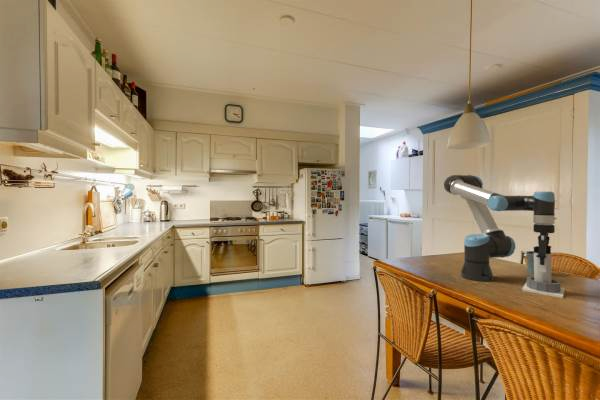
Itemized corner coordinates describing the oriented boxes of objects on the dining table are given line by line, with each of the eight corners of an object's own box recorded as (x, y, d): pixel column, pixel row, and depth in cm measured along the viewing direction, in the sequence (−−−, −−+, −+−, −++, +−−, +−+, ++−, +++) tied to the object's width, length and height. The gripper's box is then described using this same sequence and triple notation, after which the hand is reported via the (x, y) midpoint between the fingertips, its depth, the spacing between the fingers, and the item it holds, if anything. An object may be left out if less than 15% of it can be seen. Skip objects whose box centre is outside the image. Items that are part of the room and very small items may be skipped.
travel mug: (556, 290, 129) (555, 246, 129) (539, 289, 130) (538, 246, 130) (546, 286, 135) (546, 245, 135) (531, 286, 136) (530, 244, 137)
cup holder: (522, 290, 132) (522, 280, 132) (526, 284, 142) (526, 274, 142) (563, 298, 122) (563, 286, 122) (564, 290, 132) (564, 280, 132)
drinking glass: (546, 272, 164) (547, 252, 164) (550, 276, 155) (550, 255, 155) (524, 270, 169) (525, 250, 169) (527, 274, 161) (527, 253, 160)
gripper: (553, 226, 120) (552, 275, 121) (556, 222, 138) (555, 265, 138) (530, 225, 126) (530, 272, 126) (536, 221, 143) (535, 263, 144)
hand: (543, 269), depth 132 cm, fingers open, 13 cm apart
